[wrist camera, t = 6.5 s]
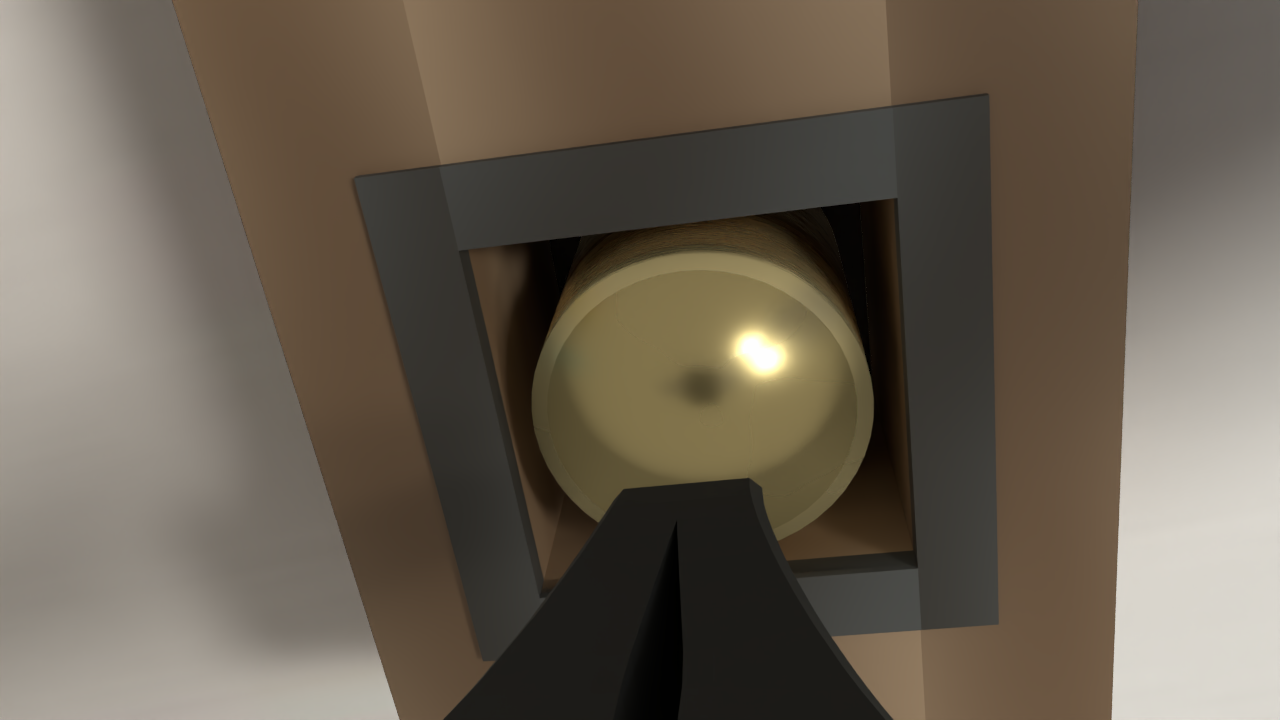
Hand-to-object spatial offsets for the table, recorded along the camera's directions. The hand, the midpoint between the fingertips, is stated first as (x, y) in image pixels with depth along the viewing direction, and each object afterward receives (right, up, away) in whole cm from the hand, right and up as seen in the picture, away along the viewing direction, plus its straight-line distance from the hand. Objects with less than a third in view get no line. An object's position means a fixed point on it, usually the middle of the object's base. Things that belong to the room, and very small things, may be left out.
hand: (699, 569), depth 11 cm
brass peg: (+1, +4, +7) cm, 8 cm away
